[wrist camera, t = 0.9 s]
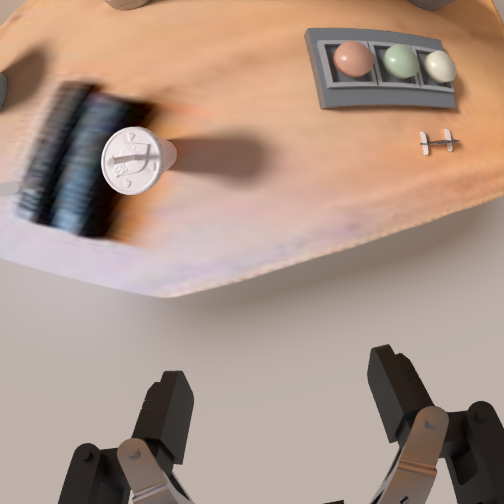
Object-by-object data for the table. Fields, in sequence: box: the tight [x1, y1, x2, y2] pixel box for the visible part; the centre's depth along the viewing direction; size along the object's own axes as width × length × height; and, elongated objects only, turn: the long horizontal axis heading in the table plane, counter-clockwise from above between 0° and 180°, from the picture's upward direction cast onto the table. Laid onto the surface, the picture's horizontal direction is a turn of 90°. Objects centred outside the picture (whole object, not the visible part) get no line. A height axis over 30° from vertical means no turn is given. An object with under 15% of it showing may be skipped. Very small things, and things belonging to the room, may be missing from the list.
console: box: [304, 28, 456, 109], centre depth 25 cm, size 10×19×4 cm, turn 100°
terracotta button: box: [333, 41, 374, 78], centre depth 22 cm, size 4×4×2 cm
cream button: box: [424, 51, 456, 83], centre depth 21 cm, size 4×4×2 cm
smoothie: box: [102, 127, 177, 195], centre depth 25 cm, size 6×6×14 cm
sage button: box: [382, 44, 419, 79], centre depth 22 cm, size 4×4×2 cm
